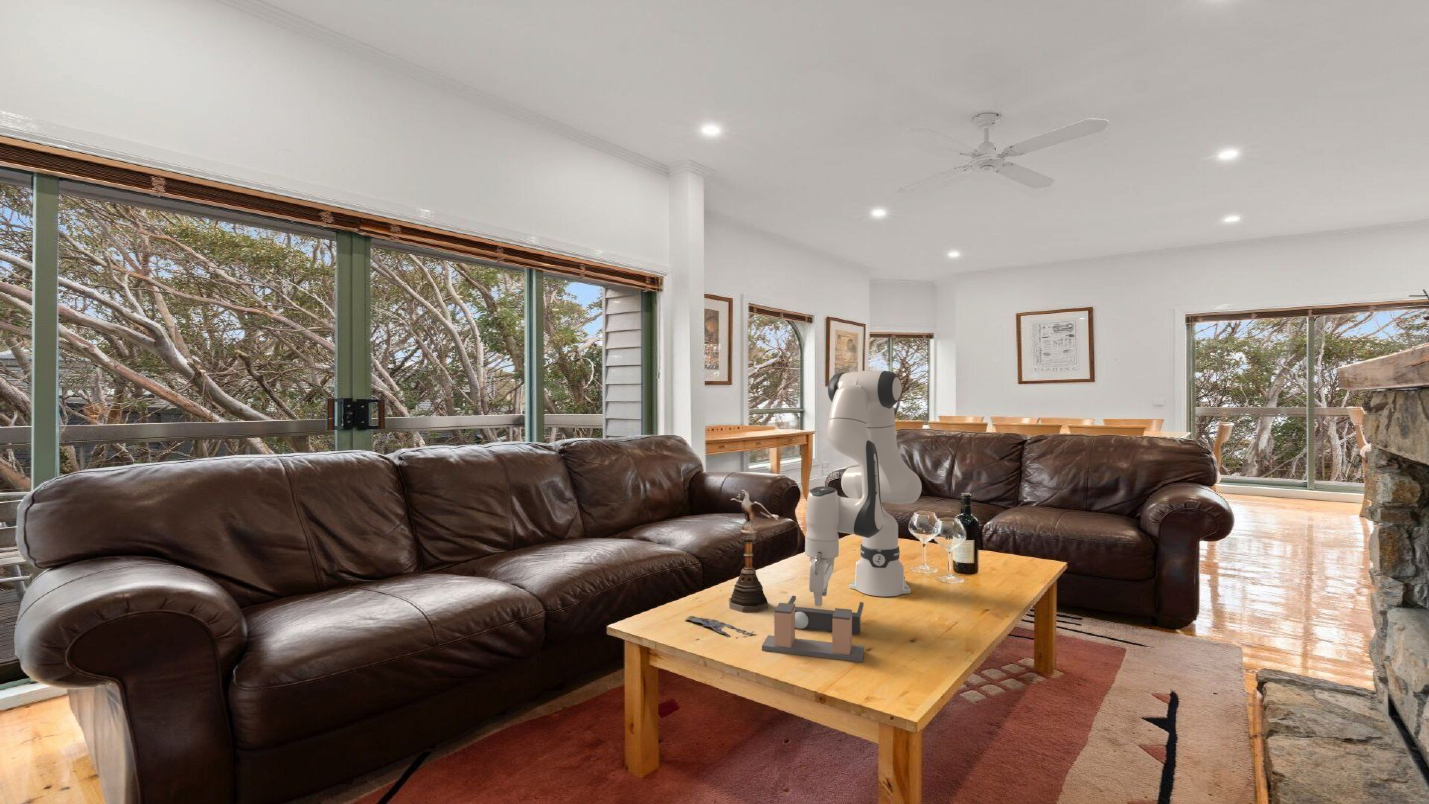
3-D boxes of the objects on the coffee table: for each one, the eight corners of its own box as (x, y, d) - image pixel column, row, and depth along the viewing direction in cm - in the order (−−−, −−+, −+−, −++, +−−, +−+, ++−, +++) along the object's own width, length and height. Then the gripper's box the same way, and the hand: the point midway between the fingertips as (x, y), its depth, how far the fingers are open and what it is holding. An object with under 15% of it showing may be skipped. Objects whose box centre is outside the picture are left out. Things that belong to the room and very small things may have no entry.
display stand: (768, 639, 167) (768, 600, 166) (864, 651, 159) (864, 610, 159) (761, 650, 160) (761, 609, 160) (862, 662, 153) (862, 620, 153)
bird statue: (751, 592, 206) (751, 480, 205) (785, 601, 197) (785, 485, 196) (716, 605, 193) (716, 486, 192) (750, 615, 185) (751, 491, 184)
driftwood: (681, 622, 181) (681, 614, 181) (700, 616, 186) (700, 608, 186) (736, 644, 166) (736, 636, 165) (754, 637, 170) (754, 629, 170)
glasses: (792, 611, 188) (792, 594, 188) (863, 619, 182) (863, 601, 182) (783, 628, 175) (783, 609, 175) (859, 636, 169) (859, 617, 169)
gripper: (828, 558, 163) (827, 613, 163) (838, 541, 183) (837, 591, 183) (803, 556, 165) (802, 611, 165) (815, 540, 185) (814, 589, 185)
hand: (821, 600), depth 174 cm, fingers open, 8 cm apart
